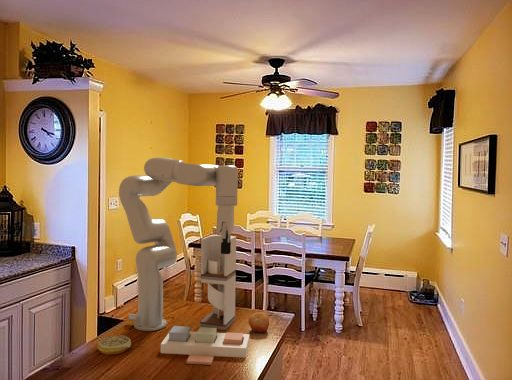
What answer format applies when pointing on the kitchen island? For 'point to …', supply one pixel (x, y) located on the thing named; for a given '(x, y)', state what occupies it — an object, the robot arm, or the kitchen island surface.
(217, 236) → the tiered shelf stand
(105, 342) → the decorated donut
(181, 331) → the key slate blue
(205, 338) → the key sage
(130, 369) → the kitchen island surface
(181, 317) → the kitchen island surface
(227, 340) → the key terracotta
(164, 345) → the keypad board
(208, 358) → the tile
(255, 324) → the fruit
